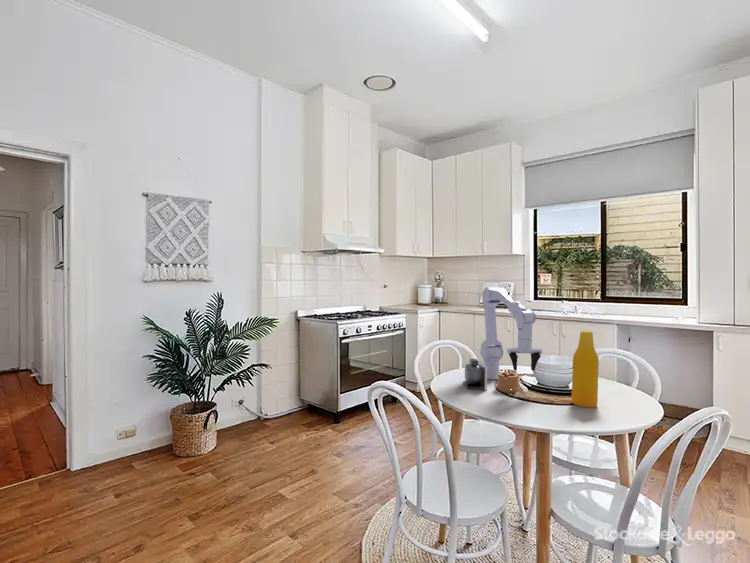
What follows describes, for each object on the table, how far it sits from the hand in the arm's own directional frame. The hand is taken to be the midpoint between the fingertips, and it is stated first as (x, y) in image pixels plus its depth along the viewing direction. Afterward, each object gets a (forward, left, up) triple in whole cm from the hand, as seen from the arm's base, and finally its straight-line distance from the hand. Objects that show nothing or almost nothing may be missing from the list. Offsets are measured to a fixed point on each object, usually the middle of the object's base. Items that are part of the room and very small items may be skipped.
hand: (523, 370), depth 179 cm
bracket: (-9, -3, -10) cm, 14 cm away
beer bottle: (+14, +19, -10) cm, 26 cm away
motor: (-9, -19, -10) cm, 23 cm away
